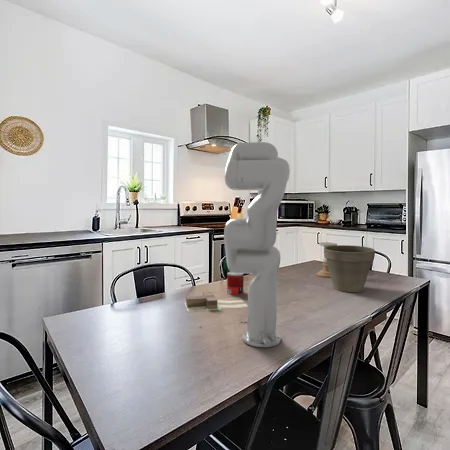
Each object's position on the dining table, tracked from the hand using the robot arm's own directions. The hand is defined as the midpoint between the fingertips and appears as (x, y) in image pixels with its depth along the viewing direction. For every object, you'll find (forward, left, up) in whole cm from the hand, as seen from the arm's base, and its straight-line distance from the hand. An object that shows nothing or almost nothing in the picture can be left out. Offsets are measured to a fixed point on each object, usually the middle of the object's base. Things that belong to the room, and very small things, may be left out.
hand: (266, 241), depth 133 cm
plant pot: (+20, -54, -29) cm, 65 cm away
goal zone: (+7, +26, -29) cm, 40 cm away
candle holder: (+49, -60, -29) cm, 83 cm away
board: (+7, +20, -29) cm, 36 cm away
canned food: (+22, +7, -29) cm, 37 cm away
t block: (+7, +27, -28) cm, 39 cm away
